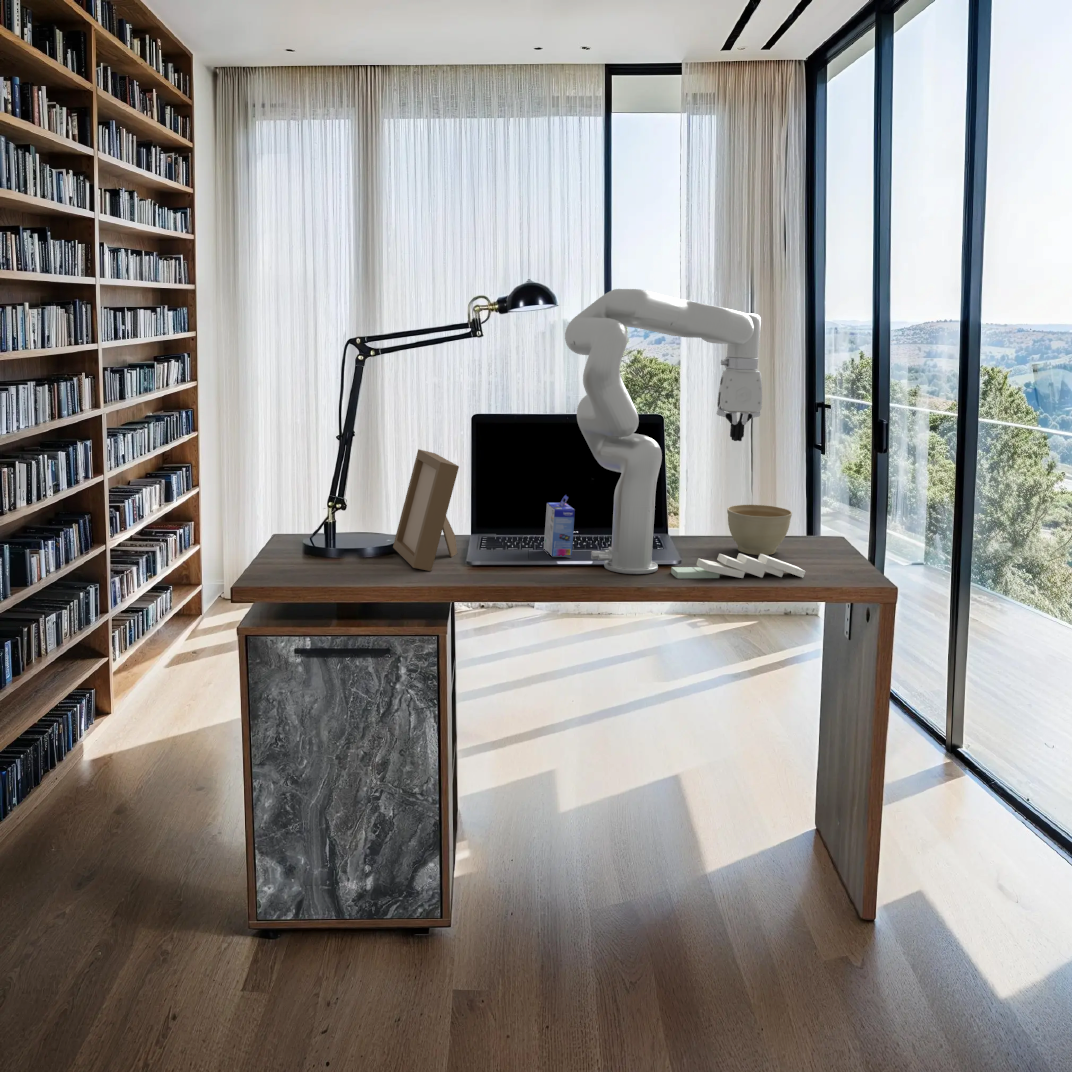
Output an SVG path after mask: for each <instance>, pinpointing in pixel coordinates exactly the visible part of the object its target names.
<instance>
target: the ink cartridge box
mask: <svg viewBox="0 0 1072 1072" xmlns="http://www.w3.org/2000/svg"><path fill="white" fill-rule="evenodd" d="M568 500H569V496H567V494H565V495H564V496H563V497H562V499H561V501H560V502H546V510H545V511H546V512H545V524H544V525H545V527H544V539H543V540H544V541H543V550H544V549H545V550H547V551H548V552H549V553H550V555H551V556H560V555H562V556H564V555H572V556H573V543H574V541H573V540H574V530H575V529H574V526H575V514H576V512H575V511H576V509H575V508H573V507H572V506H571V505H569V503H567V501H568ZM545 550H544V551H545Z"/></svg>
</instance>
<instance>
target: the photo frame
mask: <svg viewBox="0 0 1072 1072" xmlns="http://www.w3.org/2000/svg"><path fill="white" fill-rule="evenodd" d="M459 468H460V466H459V465H457V464H455V463H453V462H452V461H450V460H448V459H447V458H445V457H443V456H441V455H439V454H438V453H436V452H435V453H434V452H431V451H427V450H424V449H423V450H422V449H419V448H418V449H417V453H416V456H415V461H414V465H413V467H412V472H411V476H410V480H409V483H408V487H407V491H406V494H405V499H404V503H403V507H402V510H401V514H400V518H399V522H398V526H397V530H396V533H395V538H394V541H393V546H392V548H393V549H394V550H395V551H396V552H397V553H398V554H399V555H400V556H401V558H403V559H404V560H405V561H406V562H407V563H408V564H409V565H410V566H411V567H412V568H413V569H417V570H418V569H419V570H425V571H428V572H432V570H433V567H434V563H435V559H436V554H437V552H438V551H437V550H438V547H439V544H440V540H441V536H442V533H443V536H444V541H445V544H446V547H447V551H448V555H449V557H450V558H453V557H454V556H456V555H457V554H458V549H457V548H458V547H457V539H456V535H455V532H454V530H453V527H452V525H451V524H450V521H449V519H448V517H447V514H448V510H449V507H450V502H451V498H452V494H453V492H454V487H455V483H456V480H457V476H458V472H459Z"/></svg>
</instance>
